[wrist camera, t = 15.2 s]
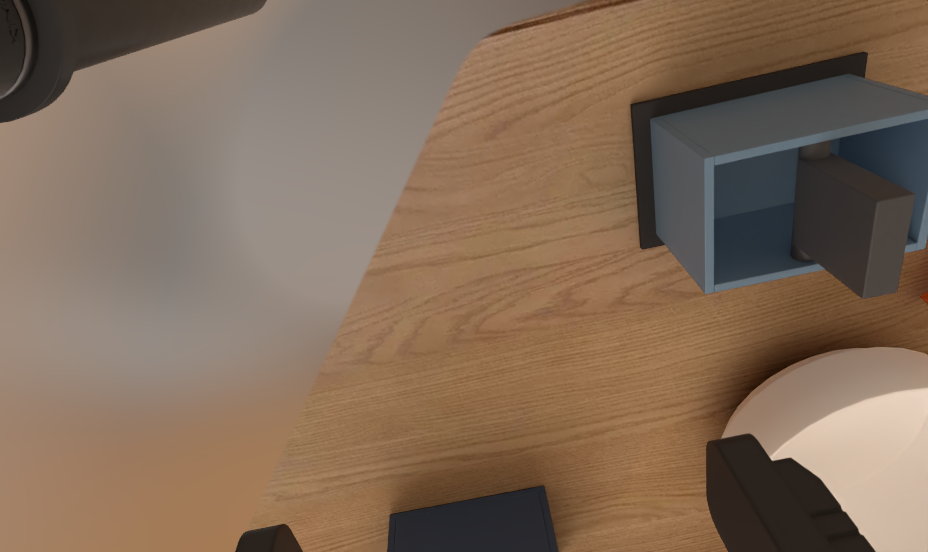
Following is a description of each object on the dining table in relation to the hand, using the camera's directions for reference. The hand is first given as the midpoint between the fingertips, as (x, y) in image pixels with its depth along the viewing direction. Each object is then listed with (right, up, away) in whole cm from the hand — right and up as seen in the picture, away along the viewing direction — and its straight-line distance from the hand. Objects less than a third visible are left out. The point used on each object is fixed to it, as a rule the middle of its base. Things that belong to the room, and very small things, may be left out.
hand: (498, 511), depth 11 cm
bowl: (+28, -7, +38) cm, 48 cm away
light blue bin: (+17, +12, +26) cm, 33 cm away
